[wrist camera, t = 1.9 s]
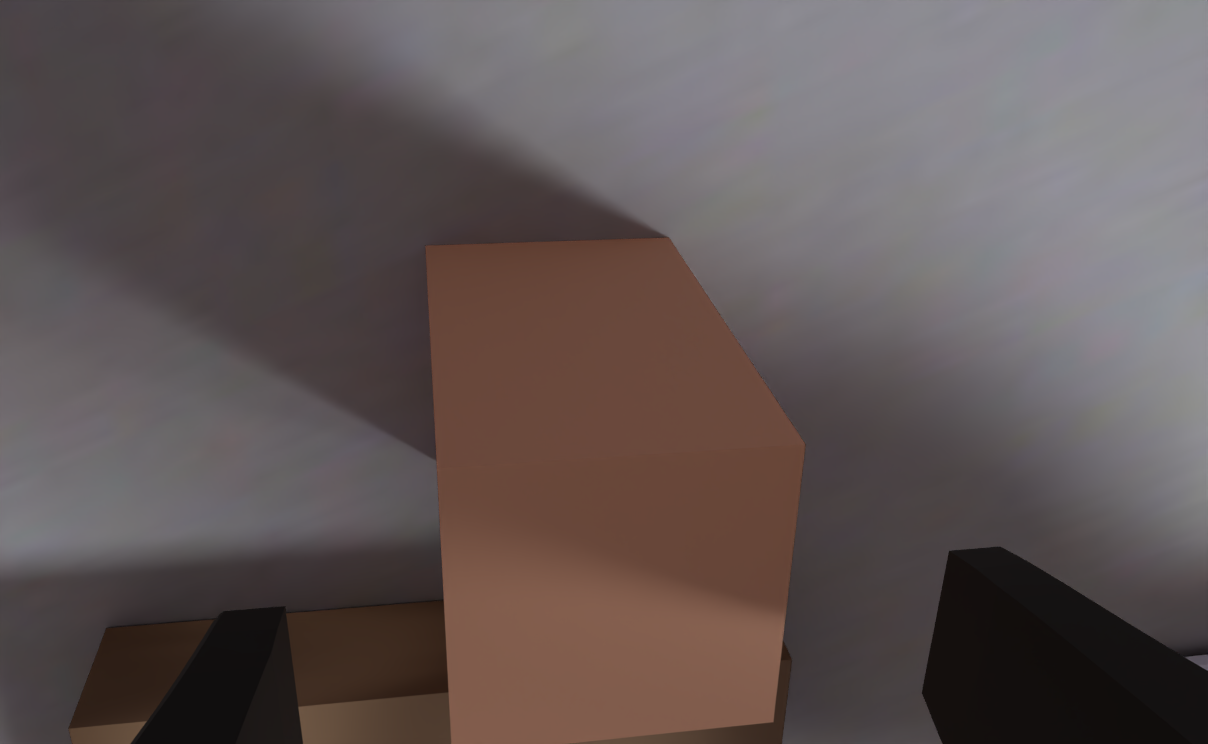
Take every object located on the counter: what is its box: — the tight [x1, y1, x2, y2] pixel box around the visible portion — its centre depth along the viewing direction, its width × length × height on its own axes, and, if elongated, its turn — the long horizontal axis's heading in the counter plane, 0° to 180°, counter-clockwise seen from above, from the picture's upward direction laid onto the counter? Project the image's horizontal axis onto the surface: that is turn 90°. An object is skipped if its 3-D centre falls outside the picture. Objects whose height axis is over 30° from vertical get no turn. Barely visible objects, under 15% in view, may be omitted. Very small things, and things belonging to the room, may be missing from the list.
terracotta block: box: [425, 238, 806, 744], centre depth 16 cm, size 4×4×7 cm
